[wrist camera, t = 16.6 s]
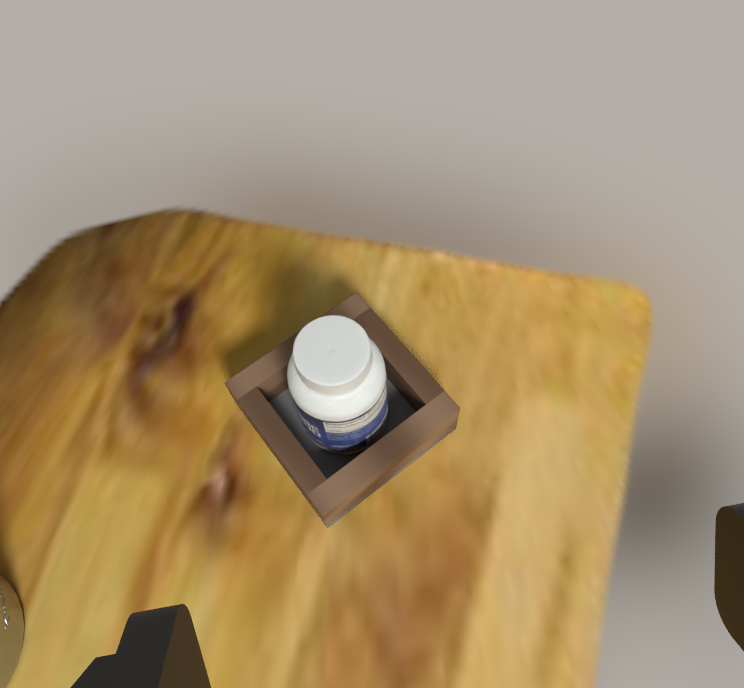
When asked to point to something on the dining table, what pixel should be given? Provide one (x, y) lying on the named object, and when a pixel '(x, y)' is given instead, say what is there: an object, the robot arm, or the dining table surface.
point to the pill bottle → (338, 384)
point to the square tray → (362, 469)
